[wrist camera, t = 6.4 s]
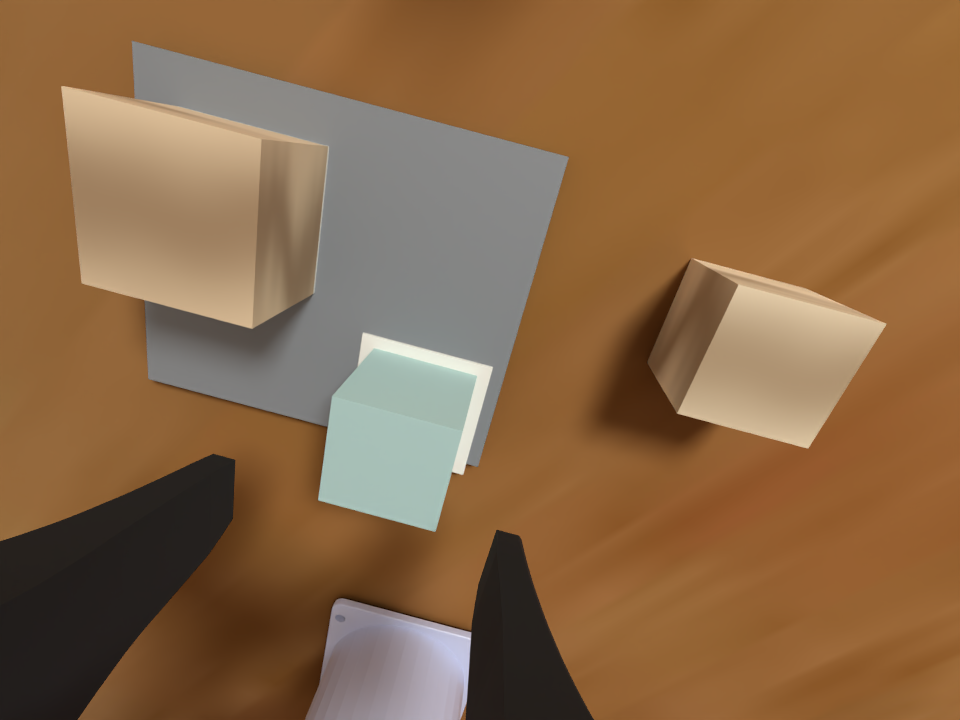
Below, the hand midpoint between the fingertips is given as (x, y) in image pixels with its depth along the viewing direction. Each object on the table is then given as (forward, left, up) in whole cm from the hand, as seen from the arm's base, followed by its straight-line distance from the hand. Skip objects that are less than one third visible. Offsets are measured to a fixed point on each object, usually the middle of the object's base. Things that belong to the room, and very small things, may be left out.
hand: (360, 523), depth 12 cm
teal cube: (0, 0, -6) cm, 6 cm away
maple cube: (+6, -10, -7) cm, 14 cm away
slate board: (+4, +4, -7) cm, 9 cm away
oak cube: (+6, +7, -6) cm, 11 cm away
